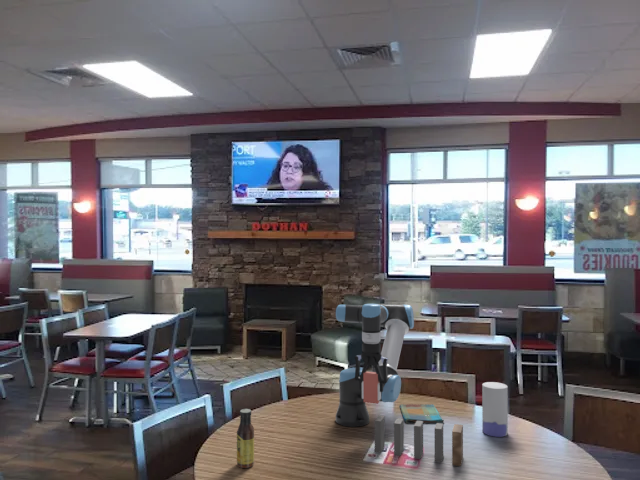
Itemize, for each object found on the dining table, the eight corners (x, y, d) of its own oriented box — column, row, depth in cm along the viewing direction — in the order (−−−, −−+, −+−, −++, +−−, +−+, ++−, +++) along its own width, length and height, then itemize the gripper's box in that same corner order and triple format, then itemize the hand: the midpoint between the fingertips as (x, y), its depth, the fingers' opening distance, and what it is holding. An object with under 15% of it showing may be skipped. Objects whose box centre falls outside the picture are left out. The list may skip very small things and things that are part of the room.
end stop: (452, 465, 182) (452, 431, 182) (454, 456, 189) (454, 424, 189) (460, 466, 181) (460, 432, 181) (462, 457, 188) (462, 425, 188)
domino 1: (374, 452, 193) (374, 420, 193) (378, 446, 199) (378, 415, 199) (380, 453, 192) (380, 421, 192) (384, 447, 198) (384, 416, 198)
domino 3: (414, 458, 188) (413, 425, 188) (416, 451, 193) (416, 420, 193) (420, 459, 187) (420, 426, 187) (423, 452, 192) (423, 421, 192)
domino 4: (434, 461, 185) (434, 428, 185) (436, 454, 191) (436, 422, 191) (441, 462, 184) (441, 429, 184) (443, 455, 190) (443, 423, 190)
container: (507, 429, 216) (507, 382, 216) (507, 438, 206) (507, 389, 206) (482, 427, 219) (482, 380, 219) (482, 435, 209) (482, 387, 209)
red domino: (377, 403, 205) (377, 374, 205) (363, 402, 207) (363, 372, 207) (379, 402, 207) (379, 372, 207) (365, 400, 209) (365, 371, 209)
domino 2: (394, 455, 190) (394, 423, 190) (397, 449, 196) (397, 417, 196) (400, 456, 189) (400, 423, 189) (403, 449, 195) (403, 418, 195)
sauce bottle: (237, 461, 185) (237, 407, 185) (254, 461, 185) (254, 406, 185) (235, 469, 178) (235, 413, 178) (253, 469, 179) (253, 412, 179)
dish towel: (405, 425, 223) (405, 419, 223) (398, 407, 247) (398, 402, 247) (444, 425, 223) (444, 419, 223) (434, 407, 246) (434, 402, 246)
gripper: (346, 342, 207) (346, 398, 207) (392, 345, 200) (392, 404, 200) (351, 338, 214) (351, 393, 214) (396, 341, 207) (396, 398, 207)
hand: (371, 398), depth 207 cm, fingers closed on red domino, 6 cm apart
